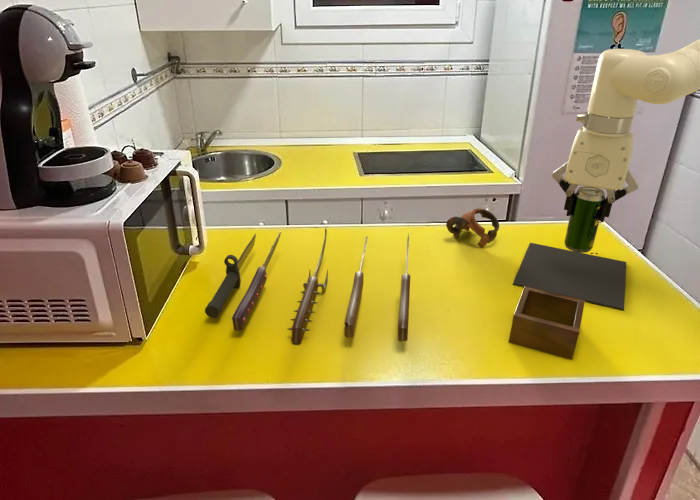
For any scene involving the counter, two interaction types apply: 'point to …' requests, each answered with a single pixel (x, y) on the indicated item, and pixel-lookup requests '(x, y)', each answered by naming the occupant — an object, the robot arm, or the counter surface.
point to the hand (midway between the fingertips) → (585, 215)
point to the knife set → (309, 295)
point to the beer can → (584, 219)
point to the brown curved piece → (474, 225)
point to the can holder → (547, 322)
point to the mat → (574, 275)
